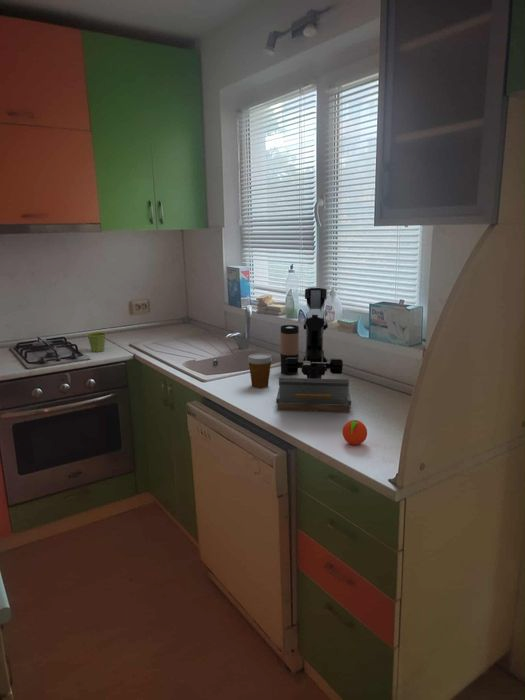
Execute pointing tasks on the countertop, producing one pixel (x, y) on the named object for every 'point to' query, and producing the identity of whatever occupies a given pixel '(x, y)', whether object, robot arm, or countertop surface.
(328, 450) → the countertop surface
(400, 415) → the countertop surface
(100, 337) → the plant pot
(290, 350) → the travel mug
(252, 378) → the disposable coffee cup
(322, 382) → the panel
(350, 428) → the clementine
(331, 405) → the tray
